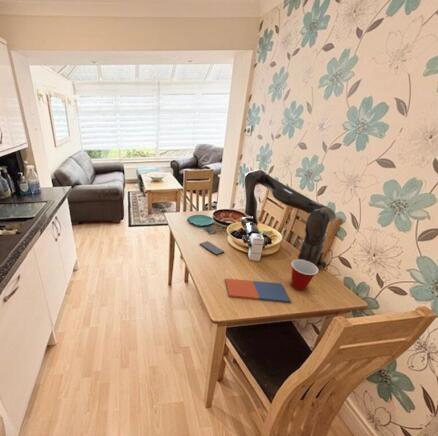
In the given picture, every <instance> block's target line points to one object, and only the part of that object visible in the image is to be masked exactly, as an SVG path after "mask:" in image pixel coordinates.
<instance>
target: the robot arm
mask: <svg viewBox="0 0 438 436" xmlns="http://www.w3.org/2000/svg"><path fill="white" fill-rule="evenodd" d="M258 185H261V186H263V187H265V188H266V189H268V191H269V192H270V194H271V196H272V197H273V198H274V199H275V200H276V201H278V202H280V203H281V204H282V205H285V206H287V207H290V208H293V209H296V210H300V211H303V212H305V213H306V214H308V216H307V219H306V224H305V227H304V233H305V234H304V237H303V240H302V243H301V245H300V246H301V247H300V250H299V253H298V255H297V259H296V260H298V259H299V260H305V261H309V262H311V263H313V264H314V265H315V266H317V268H318V269H319V267H321V268H322V269H324V268H326V267H327V263H326V262H325V260H324V259H323V256H324V253H323V250H324V248H325V247H324V246H325V244H326V240H327V238H328V234H327V229H328V226H329V225H331V224H333V223H334V222H335V221H336V219H337V215H336V212H335V211H334V210H333V209H332V208H330V207H328V206H327V205H324V204H321V203H319V202H317V201H315V200H313V199H311V198H309V197H308V196H306V195H304V194H302V193H301V192H299V191H297V190H296V189H294V188H292V187H290V186H288V185H286V184H284V183H283V182H281V181H279V180H277V179H275V178H274V177H272V176H271V175H270V174H268V173H267V172H265V171H264V170H262V169H259V168H258V169H253V170H251V171H249V172H246V173H245V176H244V191H245V207H244V214H245V216H244V217H242V218H241V220H240V224H241V227H242V228H243V229H244V230H245V234H246V235H245V234H243V235H242V236H241V240H242V242H243V244H247V247H249V246H250V247H251V246H252V243H251V235H252V234H261V232H260V230H259V228H258V226H259V219H258V217H257V216H258V215H257V213H258V212H257V210H258V200H257V198H256V195H255V189H256V186H258ZM263 238H264V242H263V248H262V250H264V249H265V248H266V247H267V246H268V242H269V241H268V240H269V239H268V237H263Z"/></svg>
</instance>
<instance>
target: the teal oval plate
mask: <svg viewBox="0 0 438 436" xmlns="http://www.w3.org/2000/svg"><path fill="white" fill-rule="evenodd" d="M213 219H214V218H213V217H211V216H208V215H205V214H194V215H189V216H188V217H187V218H186V220H187V221H188V222H189V223H190V224H191V225H195V226H196V227H203V230H205V232H207V234H215V233H216V232H222V231H226V230H227V229H226V228H224V226H218V225H215V224H216V221H215V222H214V221H213ZM212 225H215V226H212ZM207 226H208V227H207ZM218 229H219V230H218Z"/></svg>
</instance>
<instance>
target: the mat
mask: <svg viewBox="0 0 438 436" xmlns="http://www.w3.org/2000/svg"><path fill="white" fill-rule="evenodd" d="M224 281H225V284H226V288H227V293H228V297H229V298H238V299H239V298H240V299H247V300H248V299H249V300H258V301H267V302H268V301H269V302H278V303H289V304H291V302H292V301H291V299H290V297H289V295H288V293H287V292H286V290H285V288H284V286H283V284H282V283H281V282H280V283H279V282H269V281H257V280H245V279H236V278H234V279H233V278H225V280H224Z"/></svg>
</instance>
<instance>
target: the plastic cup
mask: <svg viewBox="0 0 438 436" xmlns="http://www.w3.org/2000/svg"><path fill="white" fill-rule="evenodd" d="M297 259H298V258H297ZM297 259H293V260H291V263H290V265H291V286H292V288H294V289H295V290H298V291H305V290H306V289H307V288H308V286H309V284H310V283H311V281H312V280H313V278H314V277H315V275H317V274H318V273H319V267H318V268H317V266H315V265H314V264H313V263H311V262H309V261H305V260H299V259H298V260H297Z"/></svg>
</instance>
